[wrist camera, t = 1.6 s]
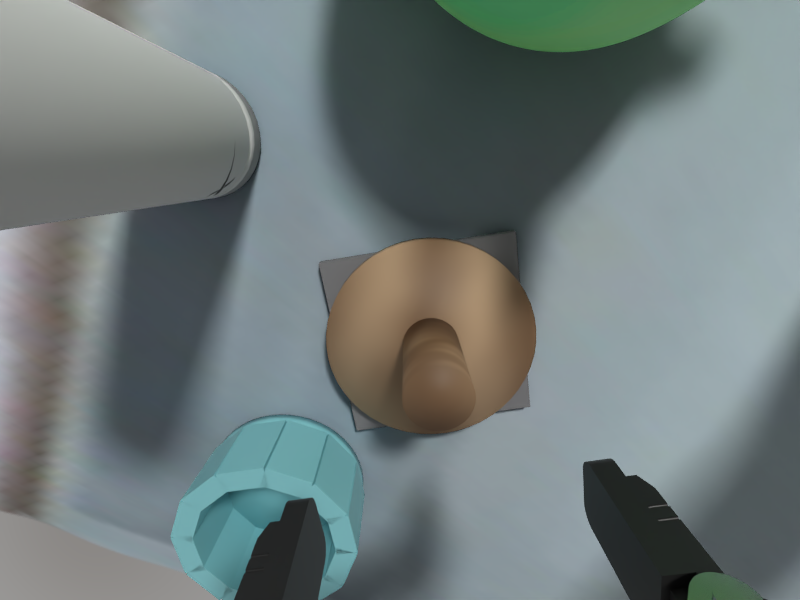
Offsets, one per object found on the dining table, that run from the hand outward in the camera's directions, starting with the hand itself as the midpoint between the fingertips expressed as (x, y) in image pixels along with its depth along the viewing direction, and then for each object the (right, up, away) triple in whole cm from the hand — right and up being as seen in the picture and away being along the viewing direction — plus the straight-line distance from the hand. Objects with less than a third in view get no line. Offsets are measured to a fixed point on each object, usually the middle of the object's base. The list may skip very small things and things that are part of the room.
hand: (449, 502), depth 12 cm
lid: (0, +4, +12) cm, 13 cm away
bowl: (-9, -6, +16) cm, 20 cm away
